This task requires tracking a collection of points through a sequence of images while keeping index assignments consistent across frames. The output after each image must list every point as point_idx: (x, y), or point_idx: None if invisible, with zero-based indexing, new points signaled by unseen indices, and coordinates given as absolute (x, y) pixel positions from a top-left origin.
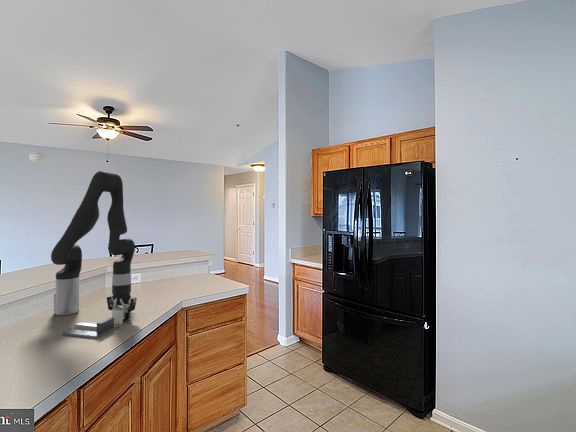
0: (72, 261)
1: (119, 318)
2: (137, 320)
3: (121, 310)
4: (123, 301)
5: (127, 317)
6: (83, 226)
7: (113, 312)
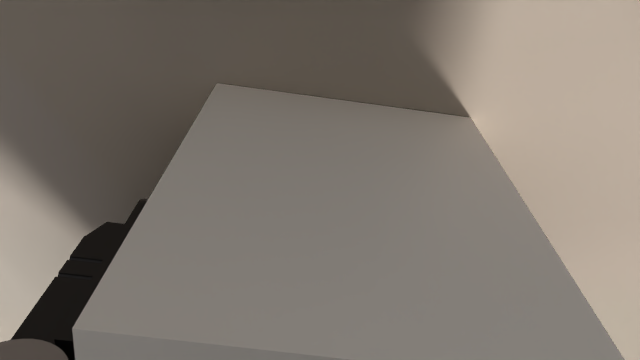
0: None
1: (239, 146)
2: (6, 292)
3: (77, 353)
4: None
5: (91, 256)
6: None
7: (517, 292)
